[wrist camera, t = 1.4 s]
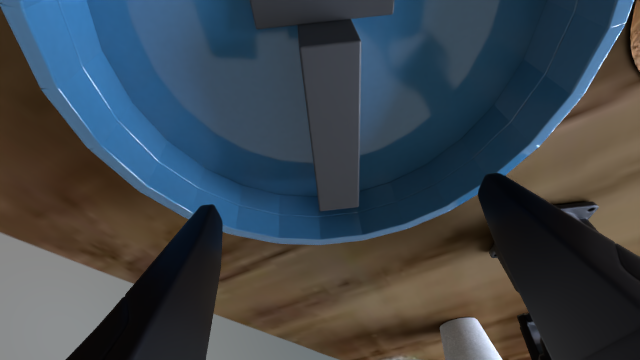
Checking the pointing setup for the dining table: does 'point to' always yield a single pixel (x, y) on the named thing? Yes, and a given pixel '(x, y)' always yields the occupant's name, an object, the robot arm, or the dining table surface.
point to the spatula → (328, 85)
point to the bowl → (290, 106)
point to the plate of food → (636, 35)
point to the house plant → (466, 341)
